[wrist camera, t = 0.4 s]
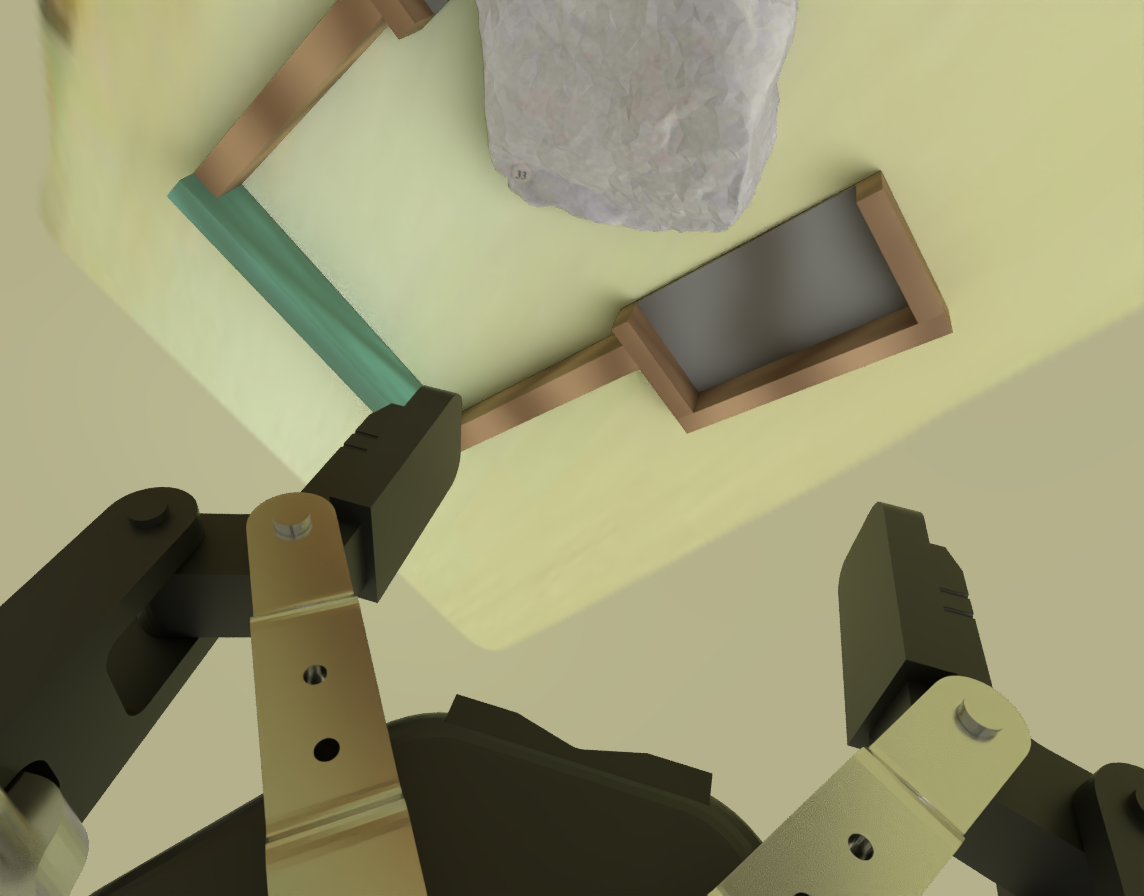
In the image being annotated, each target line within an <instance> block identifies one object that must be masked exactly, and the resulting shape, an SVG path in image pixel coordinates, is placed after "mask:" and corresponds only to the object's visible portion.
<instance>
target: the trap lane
mask: <svg viewBox="0 0 1144 896" xmlns="http://www.w3.org/2000/svg"><path fill="white" fill-rule="evenodd" d="M448 1H449V0H337V2H336V3H335V4H334V5H333V6H332V8H331V9H330V10H329V11H328V12H327V14H326V15H325V16H324V17H323V18H322V20H321V21H320V22H319V23H318V24H317V26H316V27H315V28H314V29H313V30H312V32H311V33H310V34H309V35H308V36H307V38H306V39H305V40H304V41H303V42H302V44H301V45H300V46H299V47H298V48H297V50H296V51H295V52H294V53H293V54H292V56H291V57H290V58H289V59H288V60H287V62H286V63H285V64H284V65H283V66H282V68H281V69H280V70H279V71H278V72H277V74H276V75H275V76H274V77H273V78H272V80H271V81H270V82H269V83H268V84H267V86H266V87H265V88H264V89H263V90H262V92H261V93H260V94H259V95H258V96H257V98H256V99H255V100H254V101H253V102H252V104H251V105H250V106H249V107H248V108H247V110H246V111H245V112H244V113H243V114H242V116H241V117H240V118H239V119H238V120H237V122H236V123H235V124H234V125H233V126H232V128H231V129H230V130H229V131H228V132H227V134H226V135H225V136H224V137H223V138H222V140H221V141H220V142H219V143H218V144H217V145H216V147H215V148H214V149H213V150H212V151H211V153H210V154H209V155H208V156H207V157H206V159H205V160H204V161H203V162H202V163H201V165H200V166H199V167H198V168H197V169H196V171H195V172H194V173H193V174H191V175H189V176H187V177H185V178H183V179H181V180H180V181H179V182H178V183H177V184H176V185H175V187H174V188H173V189H172V190H171V191H170V193H169V194H168V195H167V197H168V198H169V199H170V200H171V201H172V202H173V203H174V204H175V205H176V206H177V208H178V209H179V210H180V211H181V212H182V213H183V214H184V215H185V216H186V217H187V218H188V219H189V220H190V221H191V222H192V223H193V224H194V225H195V226H196V227H197V228H198V229H199V231H200V232H201V233H202V234H203V235H204V236H205V237H206V238H207V239H208V240H209V241H210V242H211V243H212V244H213V245H214V246H215V247H216V248H217V249H218V250H219V251H220V253H221V254H222V255H223V256H224V257H225V258H226V259H227V260H228V261H229V262H230V263H231V264H232V265H233V266H234V267H235V268H236V269H237V270H238V271H239V272H240V273H241V274H242V276H243V277H244V278H245V279H246V280H247V281H248V282H249V283H250V284H251V285H252V286H253V287H254V288H255V289H256V290H257V291H258V292H259V293H260V294H261V295H262V296H263V297H264V299H265V300H266V301H267V302H268V303H269V304H270V305H271V306H272V307H273V308H274V309H275V310H276V311H277V312H278V313H279V314H280V315H281V316H282V317H283V318H284V319H285V321H286V322H287V323H288V324H289V325H290V326H291V327H292V328H293V329H294V330H295V331H296V332H297V333H298V334H299V335H300V336H301V337H302V338H303V339H304V340H305V341H306V342H307V344H308V345H309V346H310V347H311V348H312V349H313V350H314V351H315V352H316V353H317V354H318V355H319V356H320V357H321V358H322V359H323V360H324V361H325V362H326V363H327V364H328V366H329V367H330V368H331V369H332V370H333V371H334V372H335V373H336V374H337V375H338V376H339V377H340V378H341V379H342V380H343V381H344V382H345V383H346V384H347V385H348V386H349V387H350V389H351V390H352V391H353V392H354V393H355V394H356V395H357V396H358V397H359V398H360V399H361V400H362V401H363V402H364V403H365V404H366V405H367V406H368V407H369V408H370V409H371V411H372V412H373V413H374V412H376V411H378V410H379V409H381V408H383V407H385V406H387V405H389V404H391V403H393V404H397V405H401V406H405V405H406V403H407V402H408V401H409V400H410V399H411V397H412V396H413V395H414V394H415V393H416V391H417V390H418V389H419V388H420V387H421V386H422V384H421V383H420V382H419V381H418V380H417V379H416V378H415V377H414V376H413V374H412V373H411V372H410V371H409V370H408V369H407V368H406V367H405V366H404V364H403V363H402V362H401V361H400V360H399V359H398V358H397V357H396V356H395V354H394V353H393V352H392V351H391V350H390V349H389V348H388V347H387V346H386V344H385V343H384V342H383V341H382V340H381V339H380V338H379V337H378V336H377V334H376V333H375V332H374V331H373V330H372V329H371V328H370V327H369V326H368V324H367V323H366V322H365V321H364V320H363V319H362V318H361V317H360V316H359V314H358V313H357V312H356V311H355V310H354V309H353V308H352V307H351V306H350V304H349V303H348V302H347V301H346V300H345V299H344V298H343V297H342V296H341V294H340V293H339V292H338V291H337V290H336V289H335V288H334V287H333V286H332V284H331V283H330V282H329V281H328V280H327V279H326V278H325V277H324V276H323V274H322V273H321V272H320V271H319V270H318V269H317V268H316V267H315V266H314V264H313V263H312V262H311V261H310V260H309V259H308V258H307V257H306V256H305V254H304V253H303V252H302V251H301V250H300V249H299V248H298V247H297V246H296V244H295V243H294V242H293V241H292V240H291V239H290V238H289V237H288V236H287V235H286V233H285V232H284V231H283V230H282V229H281V228H280V227H279V226H278V225H277V223H276V222H275V221H274V220H273V219H272V218H271V217H270V216H269V215H268V213H267V212H266V211H265V210H264V209H263V208H262V207H261V206H260V205H259V203H258V202H257V201H256V200H255V199H254V198H253V197H252V196H251V195H250V193H249V192H248V191H247V190H246V189H245V188H244V187H243V186H242V185H241V184H242V183H243V182H244V181H245V180H246V179H247V178H248V177H249V176H250V174H251V173H252V172H253V171H254V170H255V169H256V168H257V167H258V166H259V165H260V164H261V163H262V161H263V160H264V159H265V158H266V157H267V156H268V155H269V154H270V153H271V152H272V151H273V149H274V148H275V147H276V146H277V145H278V144H279V143H280V142H281V141H282V140H283V139H284V138H285V136H286V135H287V134H288V133H289V132H290V131H291V130H292V129H293V128H294V127H295V126H296V125H297V123H298V122H299V121H300V120H301V119H302V118H303V117H304V116H305V115H306V114H307V113H308V112H309V110H310V109H311V108H312V107H313V106H314V105H315V104H316V103H317V102H318V101H319V100H320V99H321V97H322V96H323V95H324V94H325V93H326V92H327V91H328V90H329V89H330V88H331V87H332V86H333V84H334V83H335V82H336V81H337V80H338V79H339V78H340V77H341V76H342V75H343V74H344V73H345V71H346V70H347V69H348V68H349V67H350V66H351V65H352V64H353V63H354V62H355V61H356V60H357V58H358V57H359V56H360V55H361V54H362V53H363V52H364V51H365V50H366V49H367V48H368V47H369V45H370V44H371V43H372V42H373V41H374V40H375V39H376V38H377V37H378V36H379V35H380V34H381V32H382V31H383V30H384V29H385V28H386V27H387V26H388V25H389V27H390V28H391V29H392V31H393V32H394V33H395V35H396V36H397V37H398V39H399V40H400V39H402V38H404V37H406V36H408V35H410V34H413V33H415V32H417V31H419V30H421V29H422V28H423V27H424V26H425V25H426V24H427V23H428V22H429V21H430V20H431V19H432V18H433V17H434V16H435V15H436V14H437V13H438V12H439V11H440V10H441V9H442V8H443V7H444V5H445V4H446V3H447V2H448ZM611 330H612V332H613V333H614V334H613V335H611V336H609V337H607V338H605V339H603V340H601V341H599V342H597V343H596V344H594V345H592V346H590V347H588V348H586V349H584V350H582V351H580V352H578V353H576V354H574V355H572V356H570V357H568V358H566V359H564V360H562V361H560V362H558V363H556V364H555V365H553V366H551V367H549V368H547V369H545V370H543V371H541V372H539V373H537V374H535V375H533V376H531V377H529V378H527V379H525V380H523V381H521V382H519V383H517V384H515V385H514V386H512V387H510V388H508V389H506V390H504V391H502V392H500V393H498V394H496V395H494V396H492V397H490V398H488V399H486V400H484V401H482V402H480V403H478V404H476V405H474V406H473V407H471V408H469V409H467V410H465V411H463V412H462V422H461V451H463V450H465V449H468V448H470V447H472V446H474V445H476V444H478V443H481V442H483V441H485V440H487V439H489V438H491V437H493V436H496V435H498V434H500V433H502V432H504V431H506V430H509V429H511V428H513V427H515V426H517V425H519V424H521V423H524V422H526V421H528V420H530V419H532V418H534V417H537V416H539V415H541V414H543V413H545V412H547V411H549V410H552V409H554V408H556V407H558V406H560V405H562V404H565V403H567V402H569V401H571V400H573V399H575V398H577V397H580V396H582V395H584V394H586V393H588V392H590V391H593V390H595V389H597V388H599V387H601V386H603V385H605V384H608V383H610V382H612V381H614V380H616V379H618V378H621V377H623V376H625V375H627V374H629V373H631V372H633V371H636V370H638V369H640V370H641V371H642V373H643V374H644V375H645V377H646V378H647V380H648V381H649V382H650V384H651V385H652V386H653V388H654V389H655V390H656V392H657V393H658V395H659V396H660V397H661V399H662V400H663V401H664V403H665V404H666V406H667V407H668V408H669V410H670V411H671V412H672V414H673V415H674V416H675V418H676V419H677V421H678V422H679V423H680V425H681V426H682V427H683V429H684V430H685V432H686V433H690V432H693V431H695V430H698V429H701V428H703V427H706V426H708V425H711V424H714V423H716V422H719V421H722V420H724V419H727V418H729V417H732V416H735V415H737V414H740V413H743V412H745V411H748V410H751V409H753V408H756V407H758V406H761V405H764V404H766V403H769V402H772V401H774V400H777V399H779V398H782V397H785V396H787V395H790V394H793V393H795V392H798V391H800V390H803V389H806V388H808V387H811V386H814V385H816V384H819V383H821V382H824V381H827V380H829V379H832V378H835V377H837V376H840V375H842V374H845V373H848V372H850V371H853V370H856V369H858V368H861V367H863V366H866V365H869V364H871V363H874V362H877V361H879V360H882V359H884V358H887V357H890V356H892V355H895V354H898V353H900V352H903V351H905V350H908V349H911V348H913V347H916V346H919V345H921V344H924V343H927V342H929V341H932V340H934V339H937V338H940V337H942V336H945V335H948V334H950V333H953V331H952V326H951V321H950V316H949V311H948V308H947V305H946V303H945V301H944V299H943V297H942V295H941V293H940V291H939V289H938V287H937V285H936V283H935V281H934V279H933V277H932V275H931V272H930V270H929V268H928V266H927V264H926V262H925V260H924V258H923V256H922V254H921V252H920V250H919V248H918V246H917V244H916V242H915V239H914V237H913V235H912V233H911V231H910V229H909V227H908V225H907V223H906V221H905V219H904V217H903V215H902V213H901V211H900V209H899V206H898V204H897V202H896V200H895V198H894V196H893V194H892V192H891V190H890V188H889V186H888V184H887V182H886V180H885V178H884V175H883V173H882V171H879V172H877V173H876V174H874V175H872V176H870V177H868V178H866V179H864V180H862V181H861V182H859V183H857V184H855V185H853V186H851V187H849V188H847V189H846V190H844V191H842V192H840V193H838V194H836V195H834V196H832V197H831V198H829V199H827V200H825V201H823V202H821V203H819V204H817V205H816V206H814V207H812V208H810V209H808V210H806V211H804V212H802V213H801V214H799V215H797V216H795V217H793V218H791V219H789V220H787V221H786V222H784V223H782V224H780V225H778V226H776V227H774V228H772V229H771V230H769V231H767V232H765V233H763V234H761V235H759V236H758V237H756V238H754V239H752V240H750V241H748V242H746V243H744V244H743V245H741V246H739V247H737V248H735V249H733V250H731V251H729V252H728V253H726V254H724V255H722V256H720V257H718V258H716V259H714V260H713V261H711V262H709V263H707V264H705V265H703V266H701V267H699V268H698V269H696V270H694V271H692V272H690V273H688V274H686V275H684V276H683V277H681V278H679V279H677V280H675V281H673V282H671V283H669V284H668V285H666V286H664V287H662V288H660V289H658V290H656V291H654V292H653V293H651V294H649V295H647V296H645V297H643V298H641V299H639V300H638V301H636V302H634V303H632V304H630V305H628V306H626V307H625V308H623V309H621V310H620V312H619V314H618V316H617V319H616V321H615V323H614V325H613V327H612V329H611Z"/></svg>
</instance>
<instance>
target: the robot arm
mask: <svg viewBox="0 0 1144 896" xmlns="http://www.w3.org/2000/svg"><path fill="white" fill-rule="evenodd" d="M461 422H462V399H461V396H460V395H459V394H456V393H452V392H448V391H445V390H441V389H437V388H433V387H429V386H425V385H424V386H421V387H420V388H419V389H418V390H417V391H416V393H415V394H414V395H413V396H412V397H411V399H410V400H409V401H408V402H407V403H406V405H405V406H401V405H397V404H393V403H391V404H389V405H387V406H385V407H383V408H381V409H379V410H378V411H376V412H374V413H372V414H370V415H369V416H368V417H367V418H366V419H365V420H364V421H363V423H362V424H361V425H360V426H359V427H358V428H357V429H356V430H355V434H352V435H351V436H350V437H349V438H348V439H347V441H346V442H345V443H344V446H343V447H340V448H339V450H338V451H337V452H336V453H335V454H334V455H333V456H332V457H331V458H330V460H329V461H328V462H327V463H326V464H325V465H324V466H323V467H322V469H321V470H320V471H319V472H318V473H317V474H316V475H315V476H314V478H313V479H312V480H311V481H310V482H309V483H308V484H307V485H306V487H305V488H304V489H303V490H302V491H301V492H294V493H286V494H282V495H278V496H275V497H272V498H270V499H268V500H266V501H265V502H263V503H261V504H260V505H259V506H257V507H256V508H255V509H254V510H253V511H252V513H251V514H203V513H199V509H198V506H197V503H196V500H195V499H194V498H193V496H191V495H190V494H189V493H187V492H185V491H183V490H180V489H176V488H170V487H156V488H148V489H144V490H140V491H136V492H134V493H131V494H128V495H126V496H124V497H122V498H121V499H119V500H117V501H116V502H114V503H113V504H112V505H111V506H110V507H108V508H107V509H106V510H105V511H104V512H103V513H102V514H101V515H100V516H98V518H96V519H95V520H94V521H93V522H92V523H91V524H90V525H89V526H88V527H87V528H85V529H84V530H83V531H82V532H81V533H80V534H79V535H78V536H77V537H76V538H75V539H73V540H72V541H71V542H70V543H69V544H68V545H67V546H66V547H65V548H64V549H62V550H61V551H60V552H59V553H58V554H57V555H56V556H55V557H54V558H53V559H52V560H51V561H50V562H49V563H47V564H46V565H45V566H44V567H43V568H42V569H41V570H40V571H38V572H37V573H36V575H34V576H33V577H32V578H31V579H30V580H29V581H28V582H27V583H26V584H24V585H23V586H22V587H21V588H20V589H19V590H18V591H17V592H16V593H14V594H13V595H12V596H11V597H10V598H9V599H8V600H7V601H6V602H5V603H4V604H2V606H0V896H69V895H70V892H71V890H72V888H73V886H74V884H75V882H76V880H77V879H78V877H79V875H80V873H81V871H82V869H83V867H84V865H85V862H86V859H87V855H88V849H89V840H88V835H87V832H86V830H85V828H84V826H83V825H82V822H83V821H84V819H85V818H86V817H87V815H88V814H89V813H90V811H91V810H92V808H93V807H94V806H95V805H96V803H97V802H98V800H99V799H100V798H101V796H102V795H103V794H104V792H105V791H106V790H107V788H108V787H109V786H110V784H111V783H112V781H113V780H114V779H115V777H116V776H117V775H118V773H119V772H120V771H121V769H122V767H124V765H125V764H126V762H127V761H128V760H129V758H130V757H131V756H132V754H133V753H134V751H135V750H136V749H137V748H138V746H139V745H140V743H141V742H142V741H143V739H144V738H145V737H146V735H147V734H148V733H149V731H150V730H151V729H152V727H153V726H154V724H155V723H156V722H157V720H158V719H159V718H160V716H161V715H162V714H163V712H164V711H165V710H166V708H167V707H168V705H169V704H170V703H171V701H172V700H173V699H174V697H175V696H176V694H177V693H178V692H179V691H180V689H181V688H182V686H183V685H184V684H185V682H186V681H187V680H188V678H189V677H190V676H191V674H192V673H193V672H194V670H195V669H196V668H197V666H198V665H199V663H200V662H201V661H202V659H203V658H204V657H205V655H206V654H207V653H208V651H209V650H210V649H211V647H212V646H213V644H214V643H215V642H216V640H217V639H218V638H219V637H251V644H252V656H253V668H254V681H255V694H256V706H257V719H258V731H259V744H260V757H261V769H262V781H263V794H261V795H259V796H258V797H256V798H254V799H253V800H251V801H249V802H247V803H246V804H244V805H242V806H241V807H239V808H237V809H235V810H234V811H232V812H230V813H229V814H227V815H225V816H223V817H222V818H220V819H218V820H217V821H215V822H213V823H212V824H210V825H208V826H206V827H205V828H203V829H201V830H200V831H198V832H196V833H194V834H193V835H191V836H189V837H187V838H186V839H184V840H182V841H181V842H179V843H177V844H175V845H174V846H172V847H170V848H168V849H167V850H165V851H163V852H162V853H160V854H158V855H156V856H155V857H153V858H151V859H150V860H148V861H146V862H144V863H143V864H141V865H139V866H138V867H136V868H134V869H133V870H131V871H129V872H128V873H126V874H124V875H122V876H121V877H119V878H117V879H115V880H114V881H112V882H110V883H108V884H107V885H105V886H103V887H102V888H100V889H98V890H97V891H95V892H94V893H92V894H91V895H89V896H921V895H922V894H923V893H924V891H925V890H926V889H927V888H928V886H929V885H930V884H931V883H932V881H933V880H934V879H935V878H936V876H937V875H938V873H939V872H940V871H941V870H942V869H943V867H944V866H945V865H946V863H947V862H948V861H949V859H950V858H951V857H952V856H954V857H956V858H957V859H958V860H960V861H962V862H963V863H965V864H966V865H968V866H970V867H971V868H973V869H974V870H976V871H978V872H979V873H980V874H982V875H984V876H985V877H987V878H988V879H990V880H991V881H993V882H995V883H996V885H997V892H998V896H1144V769H1142V768H1140V767H1137V766H1134V765H1131V764H1126V763H1110V764H1106V765H1104V766H1103V767H1102V768H1100V769H1099V770H1098V771H1097V772H1095V773H1094V774H1092V773H1090V772H1088V771H1086V770H1084V769H1083V768H1081V767H1079V766H1077V765H1075V764H1074V763H1072V762H1070V761H1068V760H1066V759H1064V758H1063V757H1061V756H1059V755H1057V754H1055V753H1053V752H1052V751H1050V750H1048V749H1046V748H1045V747H1043V746H1041V745H1040V744H1038V743H1037V742H1035V741H1034V740H1032V739H1031V736H1030V732H1029V729H1028V727H1027V724H1026V722H1025V720H1024V719H1023V717H1022V716H1021V714H1020V713H1019V711H1018V710H1017V709H1016V707H1015V706H1014V705H1013V704H1012V703H1011V702H1010V701H1009V700H1008V699H1006V698H1005V697H1004V696H1003V695H1002V694H1001V693H999V692H998V691H996V690H995V689H993V687H992V684H991V680H990V676H989V672H988V668H987V664H986V660H985V656H984V653H983V649H982V645H981V641H980V637H979V633H978V629H977V625H976V621H975V619H973V610H972V606H971V602H970V599H968V590H967V586H966V582H965V579H964V575H963V571H962V570H961V568H960V567H959V566H958V564H957V563H956V561H955V560H954V559H953V557H952V556H951V555H950V553H949V552H948V551H947V549H946V548H945V547H942V546H938V545H934V544H930V543H929V538H928V534H927V529H926V524H925V520H924V516H923V515H922V513H921V512H917V511H914V510H910V509H906V508H901V507H898V506H894V505H890V504H886V503H882V502H877V503H876V504H875V505H874V506H873V507H872V509H871V511H870V512H869V514H868V516H867V518H866V520H865V522H864V524H863V526H862V528H861V530H860V532H859V534H858V536H857V538H856V539H855V541H854V543H853V545H852V547H851V549H850V551H849V553H848V555H847V557H846V559H845V561H844V563H843V566H842V570H841V573H840V578H839V586H838V596H839V612H840V630H841V646H842V663H843V679H844V694H845V695H844V696H845V712H846V726H847V727H846V729H847V742H848V743H847V745H849V746H852V747H856V748H859V749H860V750H859V751H858V752H856V753H855V754H854V755H853V756H852V757H851V758H850V759H849V760H848V761H847V762H846V763H845V764H844V765H843V766H842V767H841V768H840V769H839V770H838V771H837V772H836V773H835V774H833V775H832V776H831V777H830V779H828V781H826V782H825V783H824V784H823V785H822V786H821V787H820V788H819V789H818V790H817V791H816V792H815V793H814V794H813V795H812V796H811V797H810V798H809V799H807V801H805V802H804V803H803V804H802V805H801V806H800V807H799V808H798V809H797V810H796V811H795V812H794V813H793V814H792V815H791V816H790V817H789V818H788V819H787V820H786V821H785V822H784V823H783V824H782V825H780V826H779V827H778V828H777V829H776V830H775V831H774V832H773V833H772V834H771V835H770V836H769V837H768V838H767V839H766V840H765V841H764V842H762V841H761V840H760V838H759V837H758V836H757V835H756V834H755V833H754V832H753V830H752V829H751V828H750V827H749V826H748V825H747V824H746V823H745V822H744V821H743V820H742V819H741V818H740V817H739V816H738V815H737V814H736V813H735V812H733V811H732V810H731V809H730V808H728V807H727V806H726V805H724V804H723V803H722V802H720V801H719V800H717V799H715V798H714V797H712V796H711V795H710V793H711V783H712V773H709V772H706V771H702V770H699V769H696V768H693V767H690V766H686V765H683V764H680V763H676V762H674V761H670V760H667V759H664V758H661V757H657V756H654V755H651V754H648V753H633V752H616V751H615V752H614V751H598V750H582V749H578V748H575V747H573V746H571V745H569V744H568V743H566V742H564V741H563V740H561V739H559V738H558V737H556V736H554V735H553V734H551V733H549V732H548V731H546V730H545V729H543V728H541V727H540V726H538V725H536V724H535V723H533V722H531V721H530V720H528V719H526V718H525V717H523V716H522V715H520V714H518V713H516V712H513V711H509V710H506V709H503V708H500V707H497V706H493V705H490V704H487V703H484V702H480V701H477V700H474V699H471V698H468V697H464V696H461V695H458V694H457V695H456V697H455V699H454V701H453V703H452V706H451V708H450V710H449V712H448V713H440V712H437V713H423V714H418V715H412V716H408V717H404V718H400V719H397V720H394V721H391V722H389V723H386V721H385V716H384V712H383V707H382V703H381V698H380V694H379V689H378V685H377V681H376V676H375V672H374V667H373V663H372V658H371V654H370V649H369V645H368V640H367V637H366V632H365V627H364V623H363V619H362V614H361V609H360V606H359V601H358V597H359V598H363V599H366V600H369V601H373V602H376V603H378V602H379V600H380V599H381V597H382V595H383V594H384V592H385V591H386V589H387V587H388V586H389V584H390V583H391V581H392V579H393V578H394V576H395V575H396V573H397V572H398V570H399V568H400V567H401V565H402V564H403V562H404V560H405V559H406V557H407V556H408V554H409V552H410V551H411V549H412V548H413V546H414V544H415V543H416V541H417V540H418V538H419V537H420V535H421V533H422V532H423V530H424V529H425V527H426V525H427V524H428V522H429V521H430V519H431V517H432V516H433V514H434V513H435V511H436V509H437V508H438V506H439V505H440V503H441V502H442V500H443V498H444V497H445V495H446V494H447V492H448V490H449V489H450V487H451V485H452V484H453V482H454V479H455V477H456V474H457V471H458V467H459V462H460V454H461Z"/></svg>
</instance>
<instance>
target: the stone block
mask: <svg viewBox="0 0 1144 896" xmlns="http://www.w3.org/2000/svg"><path fill="white" fill-rule="evenodd" d="M476 4H477V7H478V10H479V31H480V35H481V40H482V50H483V71H484V88H485V105H484V107H485V115H486V122H487V135H488V147H489V151H490V155H491V159H492V162H493V165H494V167H495V170H496V171H498V172H499V173H501V174H502V175H504V176H505V177H506V178H508V187H509V188H510V190H511V191H512V192H514V193H515V194H517V195H518V196H520V197H521V198H522V199H523V200H524V201H525V202H527V203H528V204H529V205H532V206H535V207H548V206H554V207H557V208H561V209H564V210H565V211H566V212H568V213H569V214H571V215H572V216H575V217H578V218H582V219H586V220H590V221H593V222H596V223H602V224H609V225H615V226H618V225H623V226H625V227H628V228H632V229H637V230H640V231H654V232H658V231H668V230H671V229H675V230H677V231H679V232H680V233H682V232H722V231H725V230H727V229H728V227H730V226H731V225H732V224H733V223H734V222H735V221H736V220H737V219H738V218H739V216H740V214H741V213H742V212H743V211H744V209H746V208H747V207H748V205H749V204H750V202H751V200H752V198H753V196H754V194H755V189H756V187H757V185H758V183H759V181H760V178H761V175H762V172H763V168H764V166H765V163H766V161H767V159H768V158H769V156H770V155H771V153H772V148H773V145H774V142H775V140H776V138H777V133H776V127H777V106H778V104H779V102H780V99H779V93H778V87H777V82H778V78H779V75H780V72H781V69H782V66H783V63H784V60H785V58H786V55H787V51H788V49H789V47H790V46H791V44H792V42H793V37H794V31H795V25H796V16H797V10H798V5H797V0H476Z"/></svg>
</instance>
